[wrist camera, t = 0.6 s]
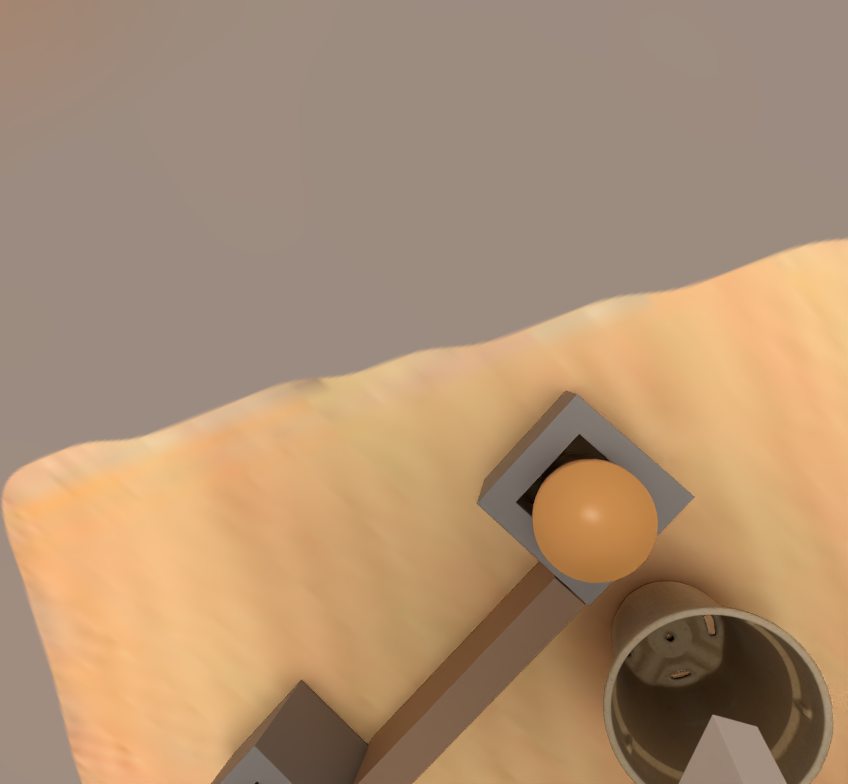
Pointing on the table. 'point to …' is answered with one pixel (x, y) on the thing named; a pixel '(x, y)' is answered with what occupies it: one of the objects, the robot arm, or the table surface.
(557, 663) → the table surface
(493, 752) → the table surface
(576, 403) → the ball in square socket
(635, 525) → the button
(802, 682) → the flower pot
